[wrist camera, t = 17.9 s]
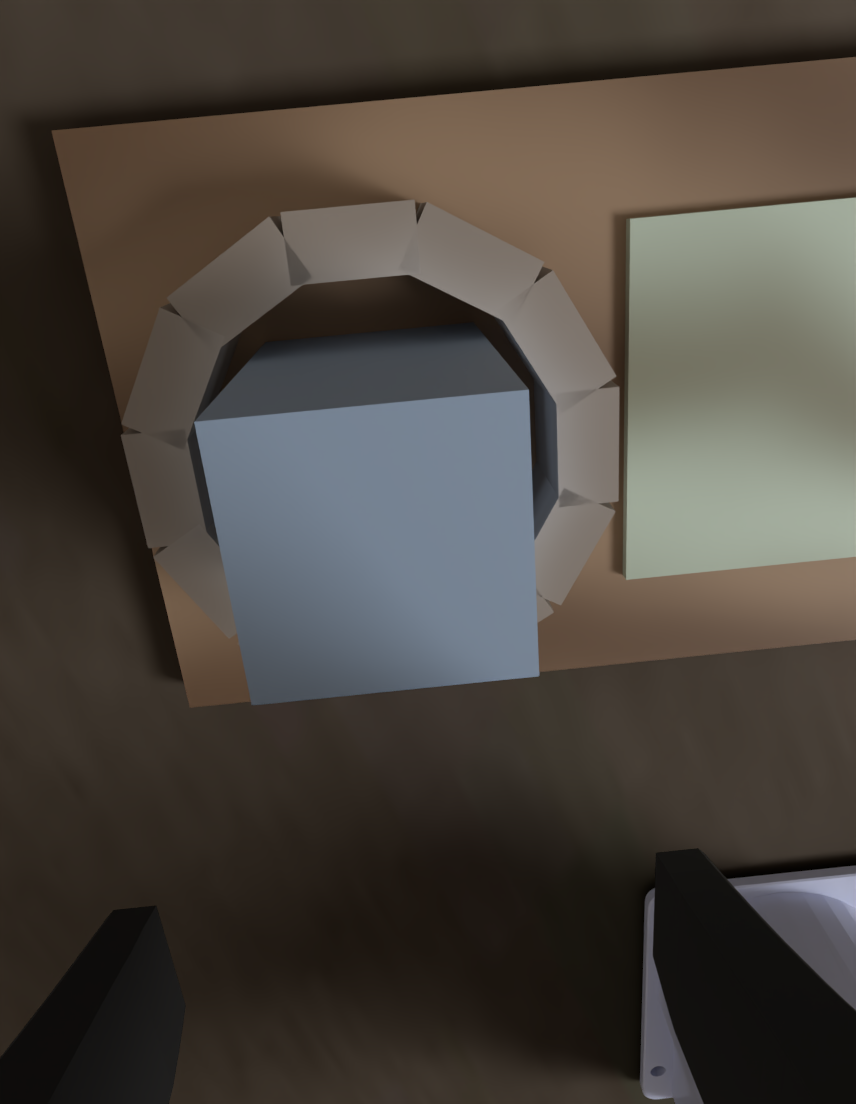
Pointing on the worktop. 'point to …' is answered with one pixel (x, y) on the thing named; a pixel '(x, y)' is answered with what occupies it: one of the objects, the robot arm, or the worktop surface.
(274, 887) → the worktop surface
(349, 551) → the peg block
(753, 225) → the board
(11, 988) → the worktop surface
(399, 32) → the worktop surface
